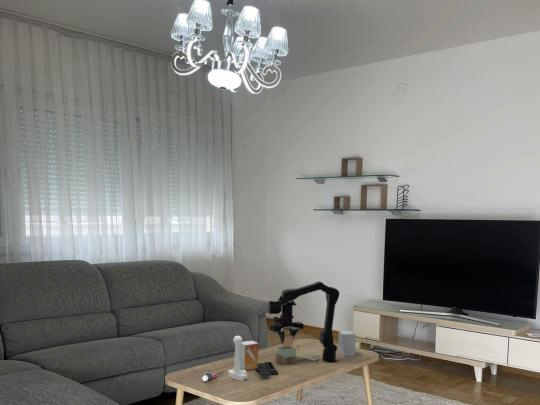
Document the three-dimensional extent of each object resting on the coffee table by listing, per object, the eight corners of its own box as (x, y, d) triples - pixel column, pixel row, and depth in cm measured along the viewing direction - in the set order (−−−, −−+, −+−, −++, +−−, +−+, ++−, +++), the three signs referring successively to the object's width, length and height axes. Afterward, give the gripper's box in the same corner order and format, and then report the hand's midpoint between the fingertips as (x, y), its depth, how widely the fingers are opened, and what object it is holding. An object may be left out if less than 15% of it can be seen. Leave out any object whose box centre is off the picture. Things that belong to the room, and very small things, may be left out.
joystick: (226, 375, 242) (227, 334, 242) (238, 372, 247) (239, 331, 247) (240, 381, 234) (241, 338, 234) (252, 378, 238) (253, 336, 239)
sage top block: (288, 353, 270) (289, 345, 270) (295, 356, 264) (295, 348, 264) (277, 354, 267) (277, 347, 267) (284, 357, 261) (284, 350, 261)
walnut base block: (288, 360, 271) (288, 352, 271) (296, 364, 264) (296, 356, 264) (275, 361, 267) (276, 354, 267) (283, 366, 260) (283, 358, 260)
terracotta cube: (287, 343, 269) (288, 333, 269) (292, 345, 265) (293, 336, 265) (280, 344, 267) (280, 334, 267) (285, 346, 262) (285, 337, 262)
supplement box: (349, 352, 287) (350, 330, 288) (355, 356, 280) (355, 333, 280) (338, 353, 285) (338, 331, 286) (343, 356, 278) (343, 334, 278)
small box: (244, 371, 249) (244, 345, 249) (238, 367, 254) (238, 342, 255) (257, 368, 254) (258, 343, 254) (251, 365, 259) (252, 340, 259)
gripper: (293, 309, 278) (292, 337, 277) (264, 312, 268) (263, 341, 268) (304, 313, 268) (304, 342, 268) (275, 316, 259) (274, 346, 258)
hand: (286, 342), depth 266 cm, fingers closed on terracotta cube, 5 cm apart
